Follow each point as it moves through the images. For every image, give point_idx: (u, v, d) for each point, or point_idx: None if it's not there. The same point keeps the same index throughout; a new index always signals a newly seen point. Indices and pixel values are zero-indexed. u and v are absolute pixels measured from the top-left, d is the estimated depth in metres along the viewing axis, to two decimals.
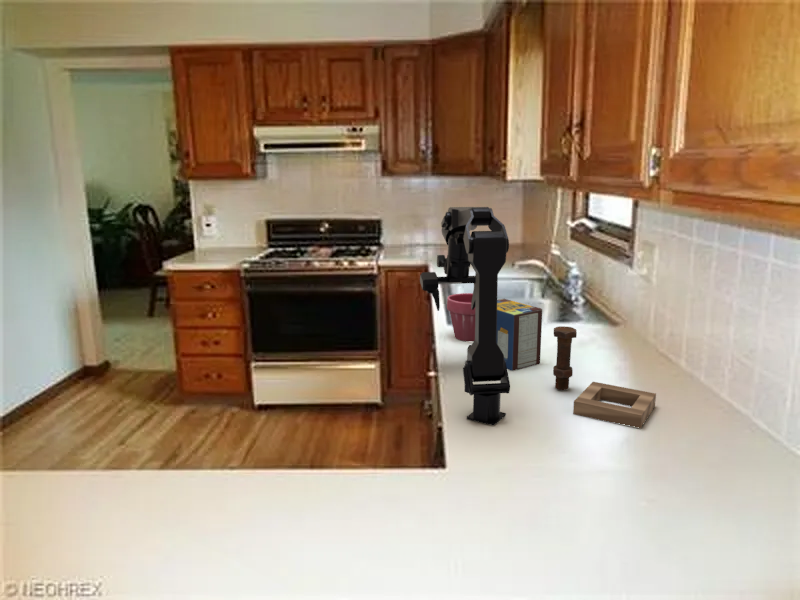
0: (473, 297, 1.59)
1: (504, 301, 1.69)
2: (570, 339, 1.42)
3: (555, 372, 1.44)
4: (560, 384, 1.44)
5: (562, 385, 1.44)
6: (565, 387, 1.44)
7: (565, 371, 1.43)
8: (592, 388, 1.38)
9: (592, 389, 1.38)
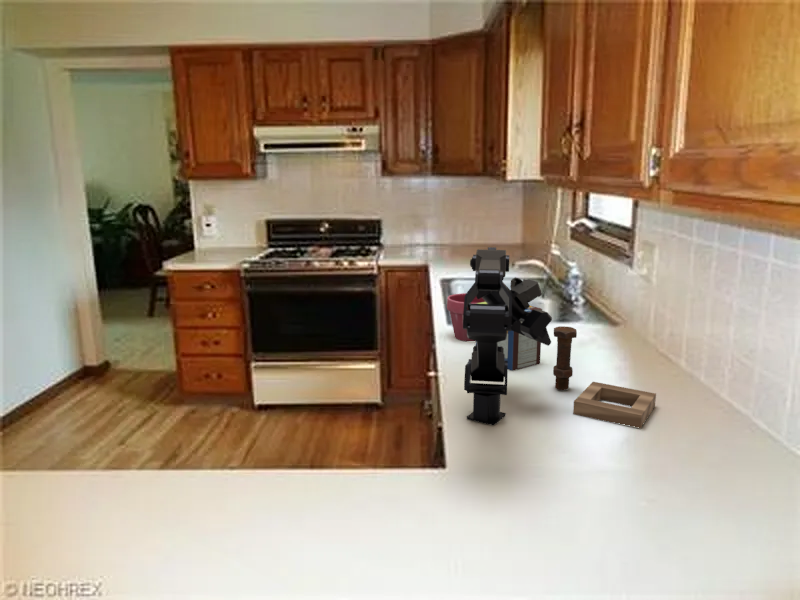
0: None
1: None
2: (570, 339, 1.42)
3: (555, 372, 1.44)
4: (560, 384, 1.44)
5: (562, 385, 1.44)
6: (565, 387, 1.44)
7: (565, 371, 1.43)
8: (592, 388, 1.38)
9: (592, 389, 1.38)
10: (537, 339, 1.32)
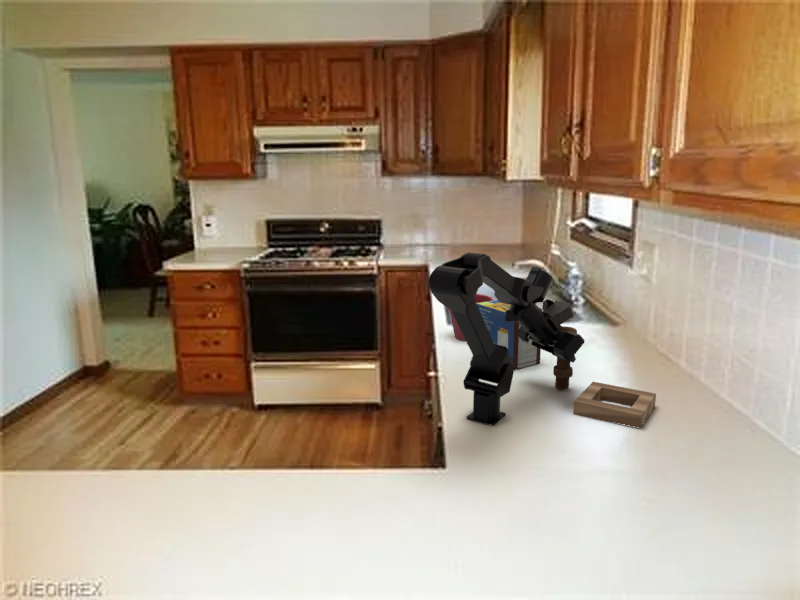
0: None
1: None
2: None
3: (555, 372, 1.44)
4: (560, 384, 1.44)
5: (562, 385, 1.44)
6: (565, 387, 1.44)
7: (565, 371, 1.43)
8: (592, 388, 1.38)
9: (592, 389, 1.38)
10: None
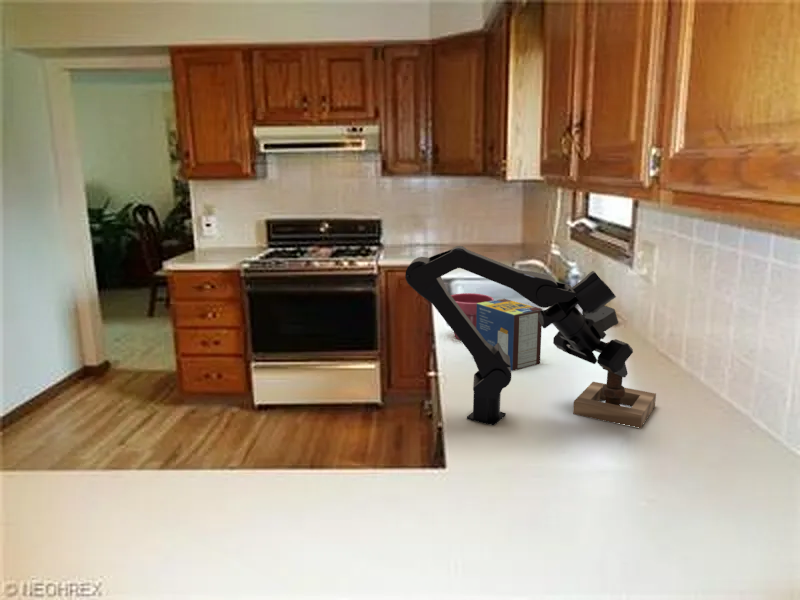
0: None
1: (504, 301, 1.69)
2: None
3: (605, 392, 1.32)
4: None
5: None
6: None
7: (617, 391, 1.30)
8: (592, 388, 1.38)
9: (592, 389, 1.38)
10: (615, 371, 1.23)
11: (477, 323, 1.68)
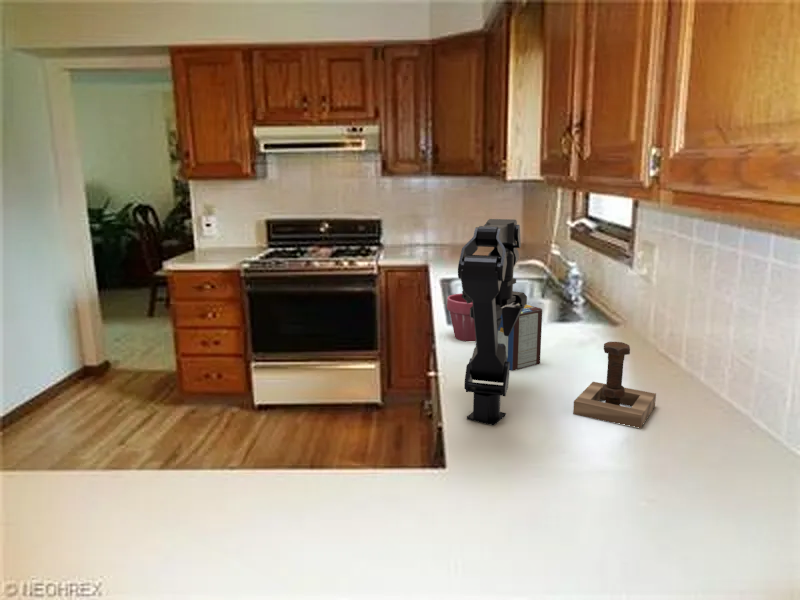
0: (507, 322, 1.44)
1: None
2: (623, 356, 1.29)
3: (605, 392, 1.32)
4: None
5: None
6: None
7: (617, 391, 1.30)
8: (592, 388, 1.38)
9: (592, 389, 1.38)
10: None
11: None
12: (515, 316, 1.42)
